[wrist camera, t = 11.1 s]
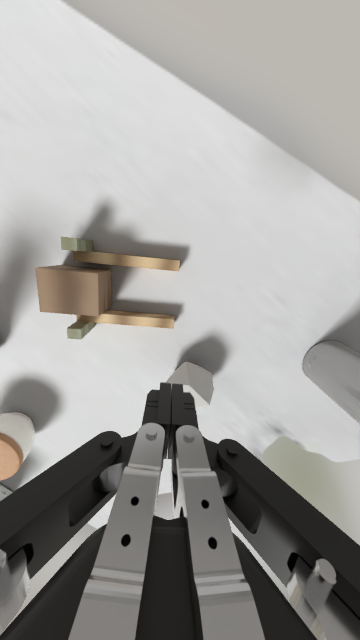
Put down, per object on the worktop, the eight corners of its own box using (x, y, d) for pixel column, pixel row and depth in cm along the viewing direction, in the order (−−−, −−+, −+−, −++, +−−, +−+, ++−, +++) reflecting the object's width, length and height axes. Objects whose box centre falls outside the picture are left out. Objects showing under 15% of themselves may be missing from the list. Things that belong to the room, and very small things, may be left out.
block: (111, 269, 35) (97, 273, 28) (111, 304, 36) (98, 316, 30) (61, 265, 34) (35, 267, 27) (64, 300, 36) (40, 311, 29)
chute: (180, 250, 34) (182, 249, 28) (172, 332, 38) (173, 345, 33) (79, 239, 33) (60, 236, 27) (83, 325, 37) (67, 338, 31)
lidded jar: (-3, 394, 41) (-52, 434, 32) (51, 413, 43) (20, 456, 34) (-15, 434, 43) (-63, 480, 34) (37, 450, 45) (4, 498, 36)
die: (176, 347, 40) (151, 389, 34) (220, 357, 36) (201, 406, 30) (183, 372, 45) (162, 413, 39) (222, 384, 42) (206, 431, 35)
